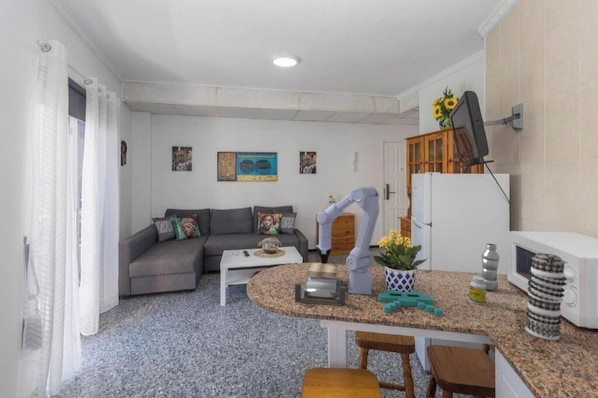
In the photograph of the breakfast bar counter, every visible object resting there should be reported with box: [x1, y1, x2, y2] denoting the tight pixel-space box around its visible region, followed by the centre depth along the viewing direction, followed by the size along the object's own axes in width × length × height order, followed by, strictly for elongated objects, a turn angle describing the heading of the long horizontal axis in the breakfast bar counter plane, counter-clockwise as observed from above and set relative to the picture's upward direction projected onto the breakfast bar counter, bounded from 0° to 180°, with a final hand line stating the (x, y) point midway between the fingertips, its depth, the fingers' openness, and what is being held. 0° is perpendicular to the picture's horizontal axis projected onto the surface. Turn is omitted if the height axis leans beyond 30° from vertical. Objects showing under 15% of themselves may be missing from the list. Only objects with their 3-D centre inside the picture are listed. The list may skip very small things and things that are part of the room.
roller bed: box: [294, 276, 346, 306], centre depth 123 cm, size 19×28×6 cm
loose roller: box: [304, 287, 336, 300], centre depth 113 cm, size 12×4×4 cm, turn 81°
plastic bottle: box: [480, 243, 500, 292], centre depth 126 cm, size 6×7×20 cm
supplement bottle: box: [468, 275, 487, 306], centre depth 114 cm, size 5×5×10 cm
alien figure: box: [377, 288, 444, 317], centre depth 113 cm, size 20×2×20 cm
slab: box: [308, 262, 338, 278], centre depth 130 cm, size 12×12×2 cm
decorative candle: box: [524, 252, 568, 341], centre depth 91 cm, size 9×9×25 cm
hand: (324, 264), depth 138 cm, fingers closed
